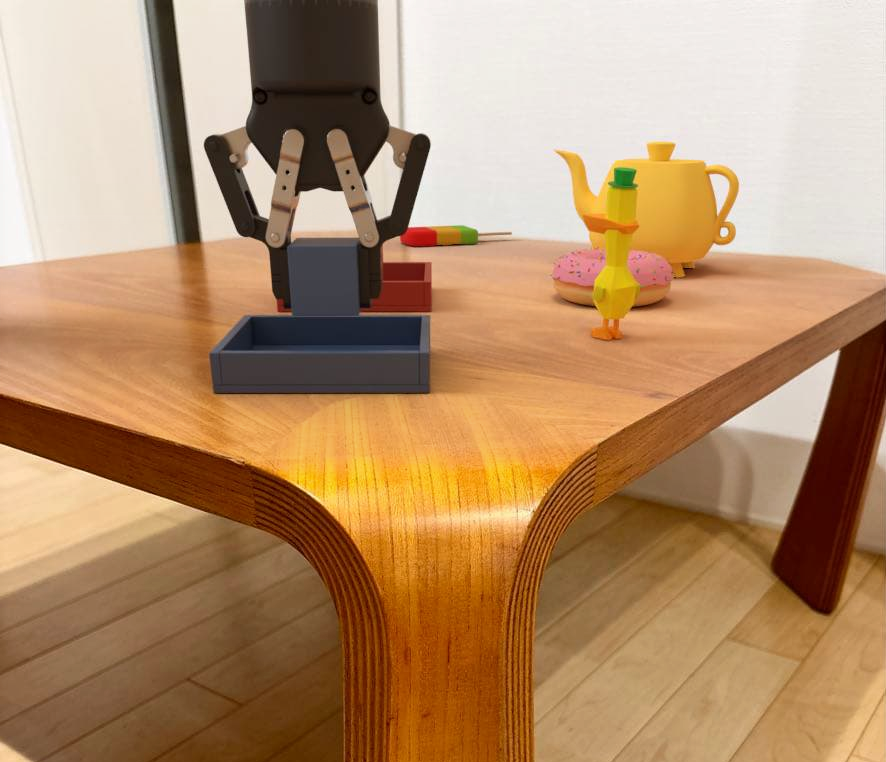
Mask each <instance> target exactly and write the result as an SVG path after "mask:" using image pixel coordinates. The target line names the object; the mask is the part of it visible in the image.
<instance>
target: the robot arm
mask: <svg viewBox="0 0 886 762" xmlns="http://www.w3.org/2000/svg"><path fill="white" fill-rule="evenodd" d="M243 4H244V16H245V27H246V38H247V40H246V41H247V50H248V63H249V75H250V88H251V89H250V90H251V106H250V110H249V113H248V115H247V117H246V122H245V125H244V126H241V127H239V128H236V129H233V130H230V131H228V132H224V133H215V134H211V135H209V136H207V137H206V138H205V139H204V141H203V149H204V153H205V155H206V157H207V159H208V162H209V164H210V167H211V169H212V172H213V175H214V178H215V180H216V182H217V184H218V188H219V190H220V192H221V196H222V197H223V200H224V202H225V205H226V207H227V210H228V213H229V215H230V217H231V220H232V223H233V226H234V228H235V231H236V233H237V234H238V235H239V236H240V237H243V238H251V239H254V240H256V241H259V242H262V243H263V244H264V245H265V246H266V247H267V250H268V253H269V254H268V255H269V267H270V268H269V269H270V278H271V280H270V281H271V291H272V294H273V296H274V298H275V300H277V299H283V305H284V309H292V308H291V294H290V280H289V266H288V252H287V246H289V245H290V244H291V243H292V233H293V227H294V221H295V216H296V212H297V208H298V206H299V202H300V199H301V192H302V193H305V192H306V193H307V192H311V191H313V190H317V189H323V190H326V191H330V192H343V195H344V197H345V201H346V204H347V208H348V209H349V211H350V214H351V216H352V220H353V223H354V227H355V230H356V232H357V235H358V238H359V239H360V246H359V247H358V270H359V294H360V308H371V306H372V299H378V298H379V295H380V293H381V290H382V260H381V246H382V244H383V245H384V244H385V242H387V241H390V240H393V239H394V238H397V237H400V236H402V235H404V234H405V233H406V231H407V229H408V227H409V225H410V222H411V218H412V214H413V211H414V209H415V203H416V202H417V201H416V200H417V197H418V193H419V191H420V186H421V183H422V179H423V175H424V172H425V169H426V165H427V161H428V157H429V154H430V150H431V146H432V142H431V139H430V137H429V136H428V135H427V134H425V133H423V132H419V133H414V132H411V131H408V130H405V129H402V128H399V127H396V126H393V125H391V124H390V120H389V118H388V115H387V114H386V112H385V110H384V107H383V103H382V96H381V95H382V94H381V68H380V67H381V65H380V63H381V62H380V32H379V31H380V30H379V28H380V27H379V0H243ZM385 143H388V144H389V145H390V146H391V148H392V152H393V155H392V160H393V163H394V165H395V166H396V167H397V168H399V169H402V172H401V176H400V180H399V184H398V187H397V190H396V194H395V198H394V202H393V205H392V209H391V213H390V215H387V216H385V217H382V218H379V219H378V216H377V213H376V210H375V207H374V204H373V199H372V195H371V192H370V189H369V186H368V182H367V179H366V176H365V175H366V173H367V172H368V170H369V169H370V167H371V166H372V164H373V163H374V161H375V159H376V158H377V156H378V154H379V153H380V151H381V150H382V148H383V147H384V145H385ZM251 144H252V145H253V147H254V148H255V149H256V150H257V152H258V153H259V154H260V156H261V157H262V158H263V160H264V161H265V163H267V165H268V166H269V168H270V169H271V170H272V172H273V173H274V174H275V181H274V186H273V190H272V195H271V200H270V211H269V216H268V218H267V217H264V216H262V215H260V211H259V210H258V207H257V204H256V202H255V199H254V197H253V194H252V191H251V189H250V186H249V183H248V181H247V178H246V176H245V174H244V170H243V168H245V167H246V166H247V165H248V163H249V153H248V149H249V146H250V145H251Z"/></svg>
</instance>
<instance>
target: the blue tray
mask: <svg viewBox="0 0 886 762" xmlns="http://www.w3.org/2000/svg"><path fill="white" fill-rule="evenodd" d="M208 357H209V366H210V372H211V373H210V374H211V383H212V392H213V394H429V393H430V392H431V390H430V389H431V315H430V314H359V315H358V316H292V314H253V315H252V314H244V315H243V316H242V317H241V318H240V319H239V320H238V322H237V323H235V325H234V326H233V327H232V328H231V329H230V330H229V331H228V332H227V333H226V334H225V335H224V336H223V338H222V339H221V340H219V342H218V343H217V344H216V345H215V346H214V347H213V348H212V349H211V350H210V351H209V353H208Z"/></svg>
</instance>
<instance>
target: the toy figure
mask: <svg viewBox="0 0 886 762" xmlns="http://www.w3.org/2000/svg"><path fill="white" fill-rule="evenodd" d="M636 172H637V170H635V169H632V168H623V167H618V168H614V181H611V182H608V185H611V186H610V188H609V189H608V190H607V202H606V214H587V215H583V217H584V222H583V223H584V225H585V227H586V229H587V230H588V232H589V231H592V232H596V233H601V234H605V245H606V266H605V267H604V269H603V270H602V271H601V273H600V274H599V275H598V276H597V278H596V279H595V283H594V291H593V293H592V297H591V298H593V301H594V303H595V305H596V306H595V308H596V309H597V311H598V312H599V315H600V316H601V318H602V319H603V320H602V326H601V327H593V328H591V329H590V336H591V337H593V338H596V339H601V340H605V341H609V340H612V339H615V340H617V339H622V338H623V334H622V333H621V331H620V328H619V327H620V320H622V319H624V318H625V317H626V316H627V314H628V313H629V312H630V310H631V309H632V306H633V305H634V302H635V298H637V297H638V296H639V291H640V286H641V285H640V284H639V283H637V282H636V281H635V279H634V278H633V276H632V274H631V272H630V271H629V269H628V267H627V262H628V257H629V252H630V247H631V242H632V237H633V233H634V232H635V231H636V230H637V229H638V228H639V224H638V222H637V221H636V219H635V217H636V205H637V193H638V190H637V189H636V187H638V184H635V183H633V181H634V178H635V175H636ZM610 320H613V323H612V324H613V325H612V326H611V325H610V323H609V322H610Z"/></svg>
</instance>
